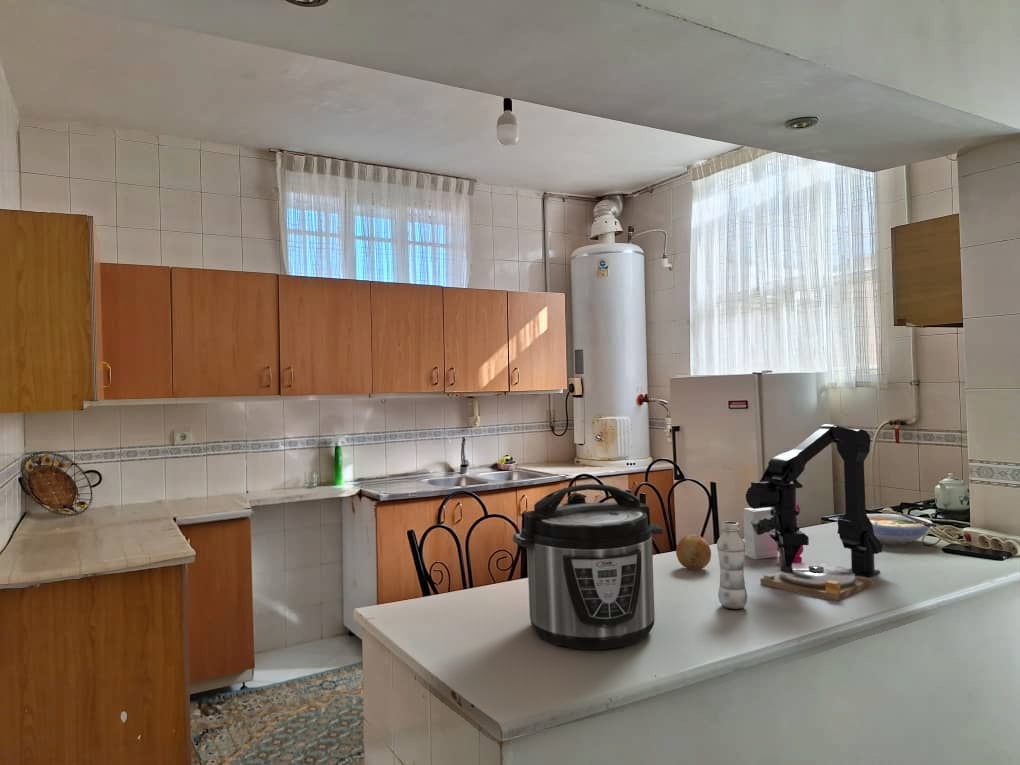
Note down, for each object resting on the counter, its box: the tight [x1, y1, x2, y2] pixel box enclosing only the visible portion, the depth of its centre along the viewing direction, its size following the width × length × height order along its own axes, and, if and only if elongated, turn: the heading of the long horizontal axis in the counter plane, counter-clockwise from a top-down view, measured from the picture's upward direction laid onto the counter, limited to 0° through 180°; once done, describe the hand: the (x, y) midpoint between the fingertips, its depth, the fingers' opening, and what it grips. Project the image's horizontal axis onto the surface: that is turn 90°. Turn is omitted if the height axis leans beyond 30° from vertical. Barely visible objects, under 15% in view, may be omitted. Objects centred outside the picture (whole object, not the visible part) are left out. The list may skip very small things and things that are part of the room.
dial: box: [778, 547, 856, 588], centre depth 179 cm, size 18×18×8 cm
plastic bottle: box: [716, 520, 748, 610], centre depth 162 cm, size 6×7×20 cm
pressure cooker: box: [512, 483, 664, 650], centre depth 149 cm, size 30×28×32 cm
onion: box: [675, 533, 712, 571], centre depth 197 cm, size 10×10×10 cm
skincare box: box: [742, 507, 779, 560], centre depth 210 cm, size 8×6×15 cm
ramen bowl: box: [866, 511, 937, 546], centre depth 225 cm, size 25×23×8 cm
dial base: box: [760, 571, 874, 602], centre depth 179 cm, size 20×20×4 cm
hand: (786, 565), depth 180 cm, fingers closed on dial, 3 cm apart
